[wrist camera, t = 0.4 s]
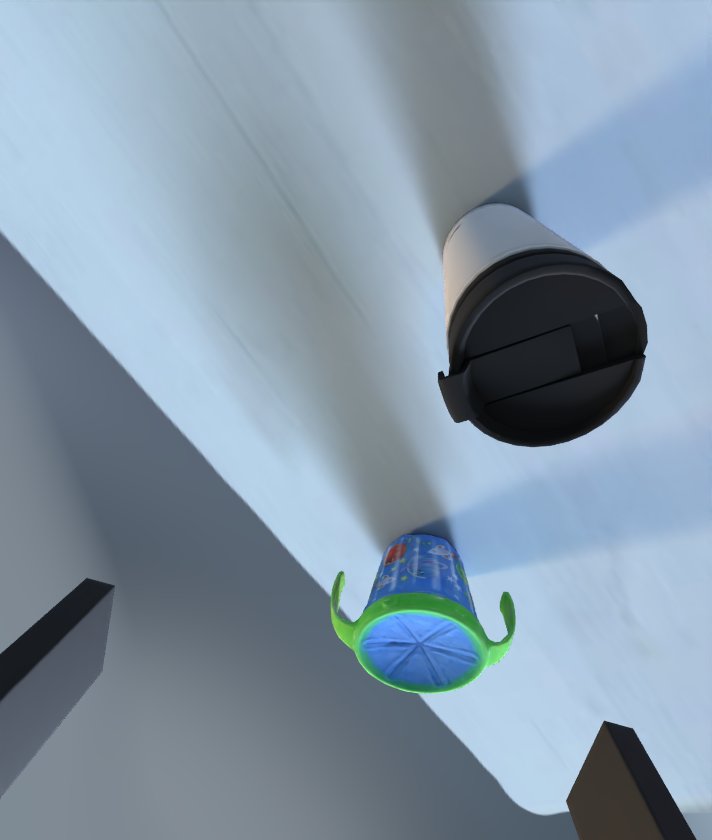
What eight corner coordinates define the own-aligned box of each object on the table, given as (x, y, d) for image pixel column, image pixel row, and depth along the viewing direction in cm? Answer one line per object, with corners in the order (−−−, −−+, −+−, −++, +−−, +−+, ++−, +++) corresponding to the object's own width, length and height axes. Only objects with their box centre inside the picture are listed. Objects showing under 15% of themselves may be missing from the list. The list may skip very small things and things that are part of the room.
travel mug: (425, 228, 32) (409, 317, 14) (526, 185, 30) (648, 228, 12) (454, 314, 34) (470, 478, 17) (549, 280, 32) (678, 427, 15)
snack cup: (520, 535, 43) (541, 633, 34) (488, 611, 48) (500, 714, 39) (350, 501, 44) (328, 588, 35) (337, 579, 49) (315, 672, 40)
